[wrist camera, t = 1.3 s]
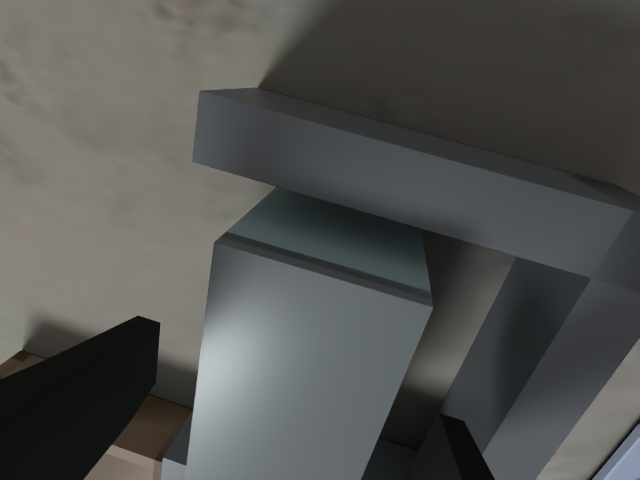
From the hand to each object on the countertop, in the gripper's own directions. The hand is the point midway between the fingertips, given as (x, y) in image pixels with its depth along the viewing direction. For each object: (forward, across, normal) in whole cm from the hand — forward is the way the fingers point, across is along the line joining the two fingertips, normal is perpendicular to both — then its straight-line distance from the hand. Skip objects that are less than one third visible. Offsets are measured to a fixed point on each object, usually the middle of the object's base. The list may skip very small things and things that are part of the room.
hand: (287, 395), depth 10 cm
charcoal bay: (+4, -2, 0) cm, 5 cm away
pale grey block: (+4, 0, 0) cm, 4 cm away
